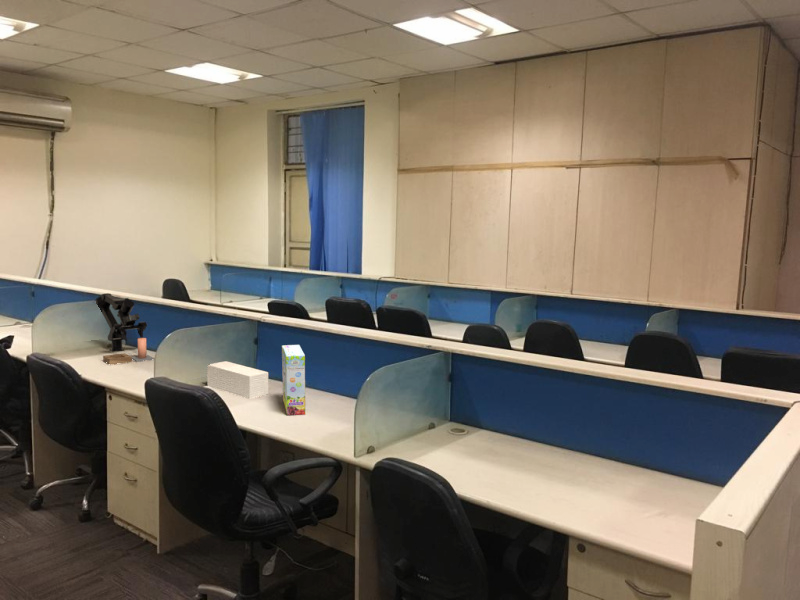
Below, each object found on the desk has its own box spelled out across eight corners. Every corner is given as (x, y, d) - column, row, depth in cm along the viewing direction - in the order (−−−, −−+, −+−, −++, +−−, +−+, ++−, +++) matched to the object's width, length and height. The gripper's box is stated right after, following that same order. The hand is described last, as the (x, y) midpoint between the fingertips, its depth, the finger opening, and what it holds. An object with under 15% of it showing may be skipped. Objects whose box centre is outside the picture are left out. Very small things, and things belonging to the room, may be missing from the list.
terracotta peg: (136, 357, 354) (135, 338, 353) (142, 356, 358) (142, 337, 357) (141, 359, 352) (141, 339, 351) (148, 357, 356) (148, 338, 355)
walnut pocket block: (103, 361, 349) (103, 355, 348) (125, 358, 356) (124, 353, 356) (109, 365, 340) (109, 359, 340) (131, 362, 347) (131, 357, 347)
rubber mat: (130, 358, 356) (130, 357, 356) (148, 356, 363) (148, 355, 362) (136, 361, 349) (136, 360, 348) (154, 359, 355) (154, 358, 355)
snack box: (280, 401, 282) (281, 344, 279) (300, 400, 284) (300, 344, 281) (285, 416, 261) (285, 355, 258) (306, 415, 264) (306, 354, 260)
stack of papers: (207, 386, 304) (207, 364, 303) (226, 382, 312) (226, 361, 311) (249, 399, 284) (249, 376, 283) (268, 394, 292) (268, 372, 291)
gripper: (113, 310, 355) (122, 333, 349) (145, 308, 368) (154, 329, 363) (107, 322, 361) (116, 344, 355) (139, 319, 375) (148, 340, 369)
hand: (134, 339), depth 360 cm, fingers open, 9 cm apart
